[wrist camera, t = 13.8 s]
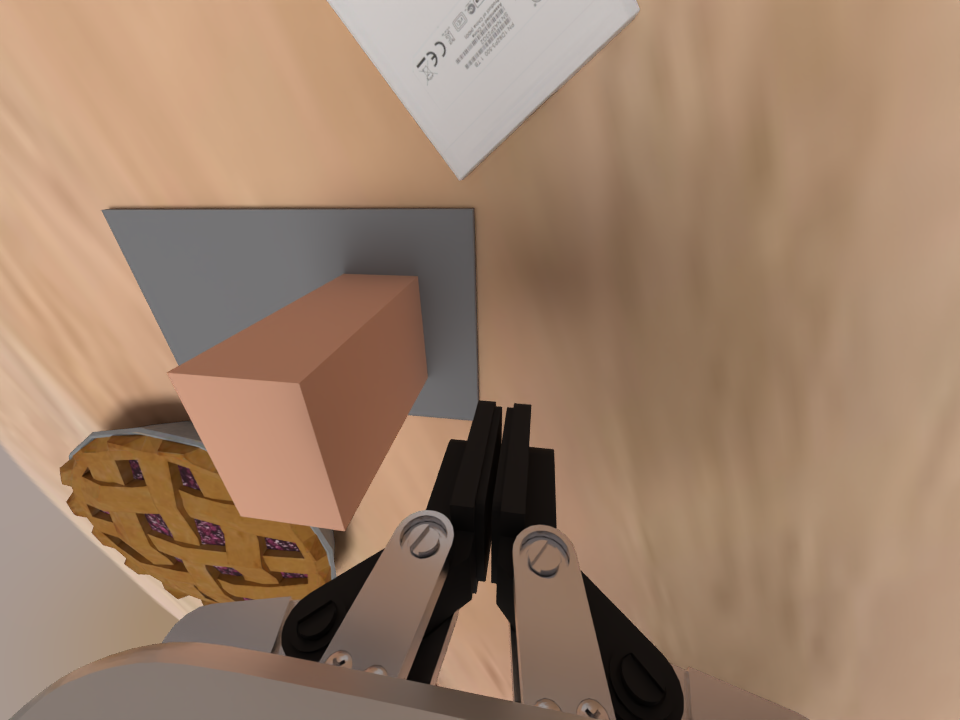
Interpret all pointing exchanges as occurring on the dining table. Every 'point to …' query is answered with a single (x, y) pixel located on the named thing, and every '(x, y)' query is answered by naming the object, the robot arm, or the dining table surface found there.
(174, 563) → the pie
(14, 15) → the dining table surface
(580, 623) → the robot arm
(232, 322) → the mat
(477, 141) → the external hard drive
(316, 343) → the block
